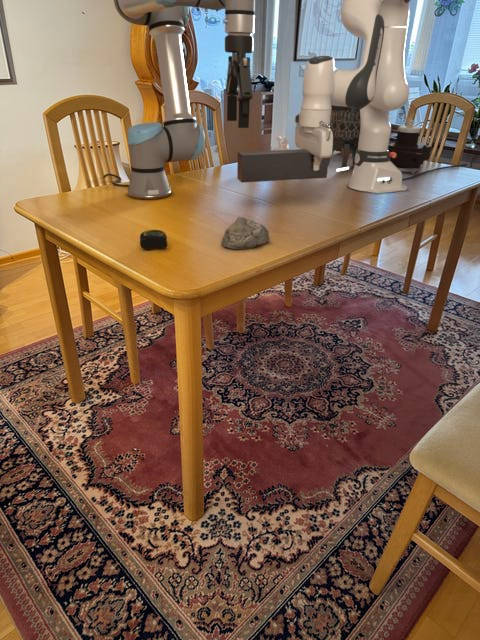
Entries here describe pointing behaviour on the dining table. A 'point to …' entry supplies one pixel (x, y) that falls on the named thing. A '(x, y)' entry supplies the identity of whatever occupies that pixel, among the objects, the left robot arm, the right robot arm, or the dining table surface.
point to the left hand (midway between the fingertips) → (237, 124)
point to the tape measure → (153, 239)
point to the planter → (345, 131)
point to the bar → (278, 165)
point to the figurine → (282, 143)
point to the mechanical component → (409, 148)
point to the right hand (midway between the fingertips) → (311, 167)
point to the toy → (341, 150)
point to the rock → (245, 234)
